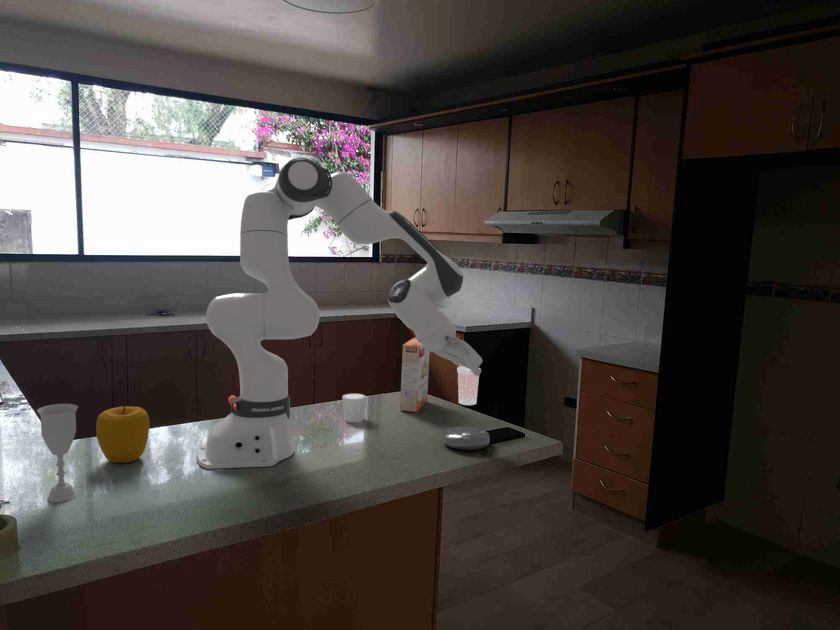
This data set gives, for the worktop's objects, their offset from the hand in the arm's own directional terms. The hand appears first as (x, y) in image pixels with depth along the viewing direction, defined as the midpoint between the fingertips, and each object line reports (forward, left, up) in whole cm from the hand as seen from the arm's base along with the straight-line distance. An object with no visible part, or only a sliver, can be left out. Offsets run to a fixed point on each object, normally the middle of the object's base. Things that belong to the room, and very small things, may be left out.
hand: (470, 370), depth 157 cm
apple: (-82, +13, -20) cm, 85 cm away
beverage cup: (-1, 0, -9) cm, 9 cm away
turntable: (-1, 0, -20) cm, 20 cm away
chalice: (-92, -4, -20) cm, 94 cm away
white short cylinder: (-23, +29, -20) cm, 42 cm away
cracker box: (-1, +37, -20) cm, 42 cm away
